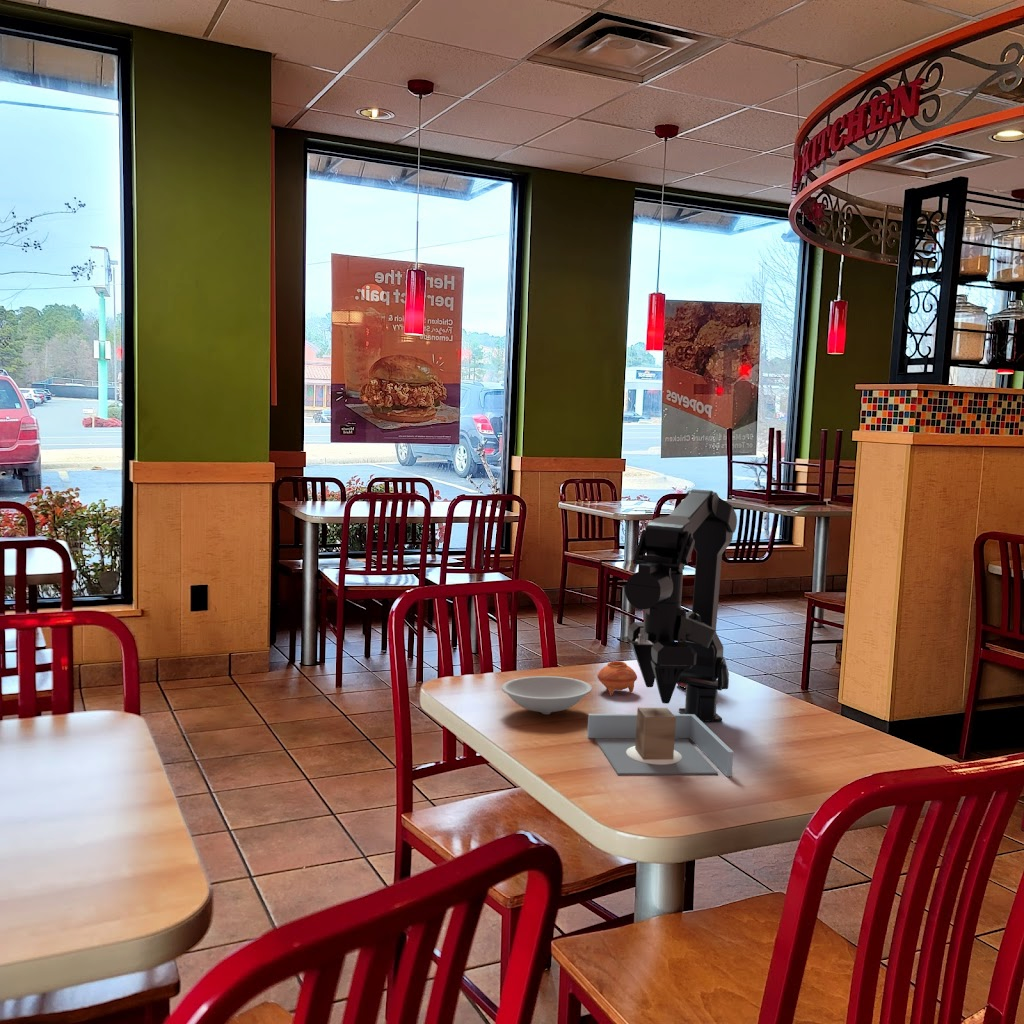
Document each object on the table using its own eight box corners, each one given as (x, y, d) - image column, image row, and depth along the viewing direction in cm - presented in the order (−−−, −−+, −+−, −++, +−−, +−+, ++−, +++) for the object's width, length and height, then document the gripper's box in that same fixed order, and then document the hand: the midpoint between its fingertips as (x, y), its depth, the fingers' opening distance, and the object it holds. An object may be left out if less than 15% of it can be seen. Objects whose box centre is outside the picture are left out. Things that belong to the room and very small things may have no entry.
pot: (632, 699, 188) (626, 665, 188) (596, 702, 191) (589, 668, 191) (645, 688, 195) (638, 655, 195) (609, 691, 198) (603, 659, 198)
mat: (595, 740, 163) (595, 737, 163) (685, 740, 165) (685, 737, 165) (617, 775, 147) (618, 772, 147) (717, 774, 150) (717, 771, 150)
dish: (526, 730, 166) (527, 702, 166) (485, 707, 179) (486, 681, 178) (607, 718, 176) (608, 692, 175) (562, 697, 188) (564, 672, 187)
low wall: (587, 736, 165) (588, 713, 165) (692, 736, 168) (694, 714, 167) (613, 777, 146) (614, 752, 146) (731, 776, 149) (733, 751, 149)
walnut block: (635, 748, 159) (637, 707, 158) (664, 748, 159) (667, 707, 159) (643, 759, 154) (645, 717, 153) (673, 759, 154) (675, 717, 154)
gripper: (732, 612, 146) (725, 712, 147) (693, 590, 164) (687, 679, 166) (661, 611, 144) (655, 712, 146) (629, 589, 163) (624, 679, 164)
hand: (657, 694), depth 155 cm, fingers open, 9 cm apart
